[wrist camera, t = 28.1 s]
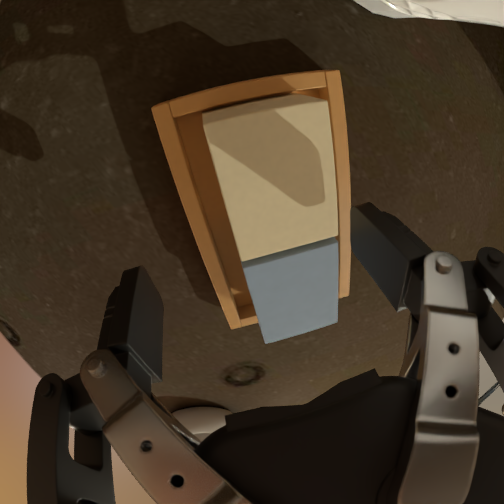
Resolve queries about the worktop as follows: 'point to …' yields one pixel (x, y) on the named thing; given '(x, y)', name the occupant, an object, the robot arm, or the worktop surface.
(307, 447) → the robot arm
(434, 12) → the white cup
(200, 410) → the donut
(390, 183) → the worktop surface
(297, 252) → the pad
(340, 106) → the frame
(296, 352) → the worktop surface
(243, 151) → the pad
